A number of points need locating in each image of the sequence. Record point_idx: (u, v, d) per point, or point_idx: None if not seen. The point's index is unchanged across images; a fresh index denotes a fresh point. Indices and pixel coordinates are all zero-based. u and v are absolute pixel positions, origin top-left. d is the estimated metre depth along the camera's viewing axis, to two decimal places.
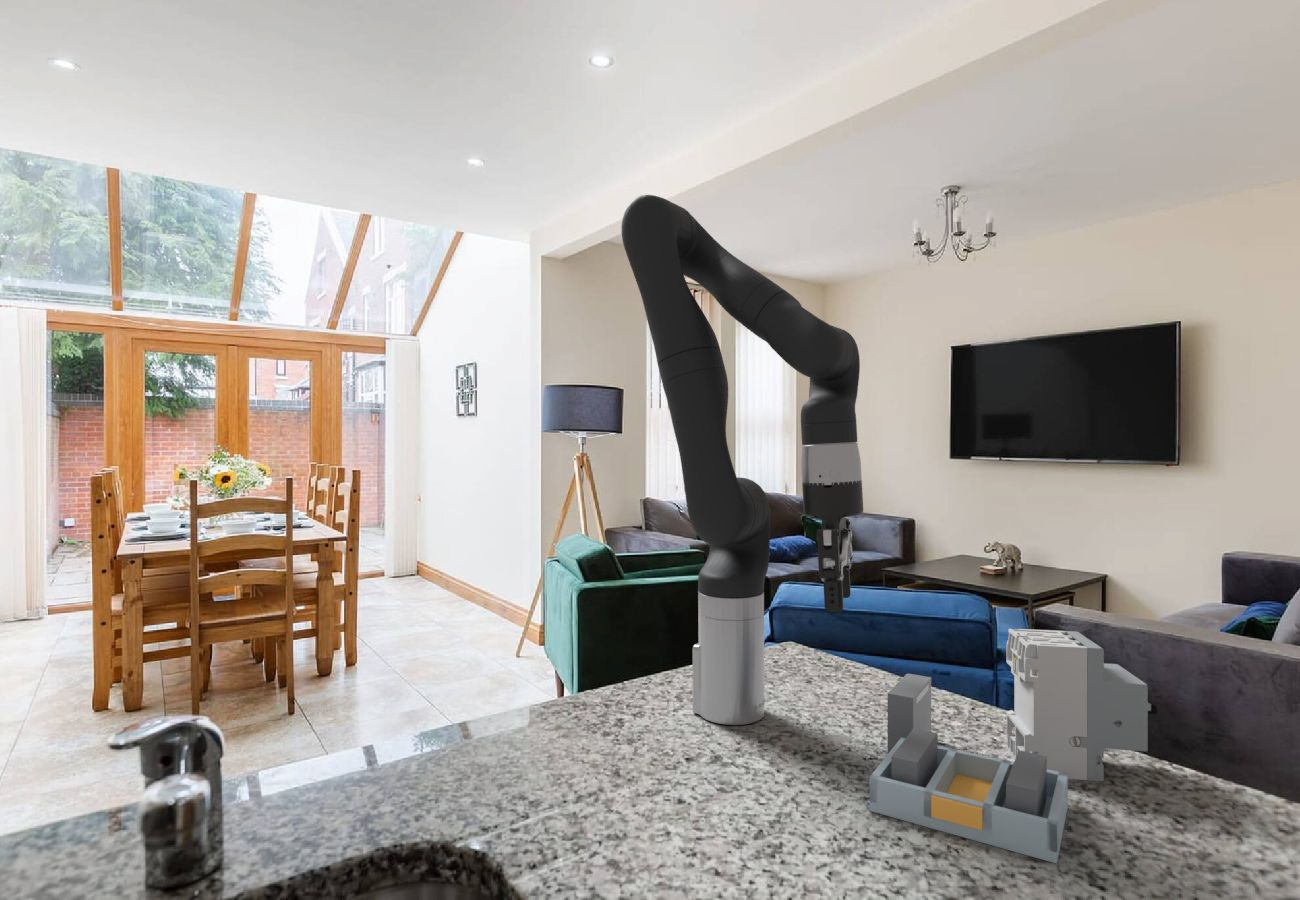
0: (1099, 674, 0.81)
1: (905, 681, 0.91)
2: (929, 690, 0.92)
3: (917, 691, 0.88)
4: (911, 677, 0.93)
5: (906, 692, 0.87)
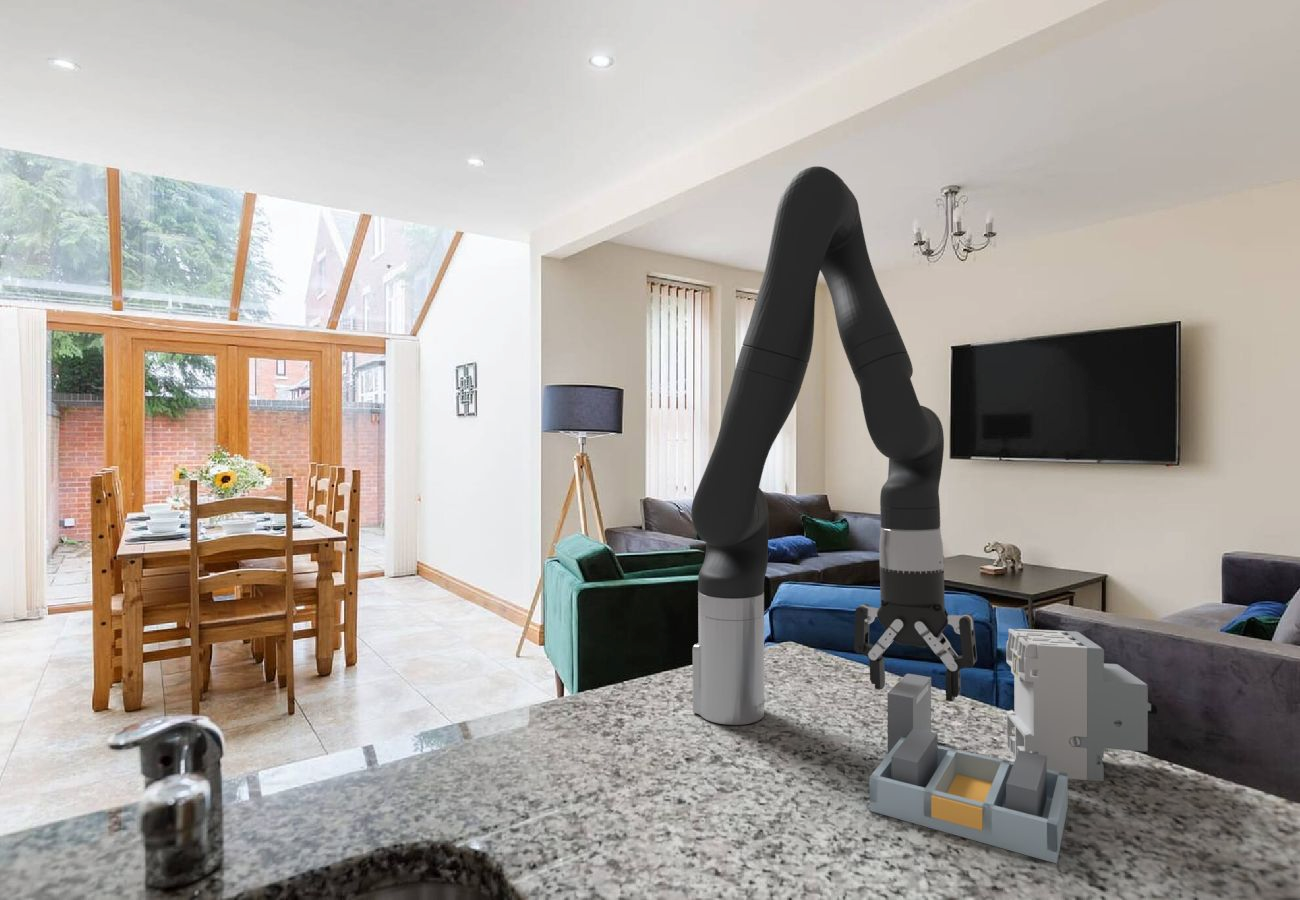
0: (1099, 674, 0.81)
1: (905, 681, 0.91)
2: (929, 690, 0.92)
3: (917, 691, 0.88)
4: (911, 677, 0.93)
5: (906, 692, 0.87)
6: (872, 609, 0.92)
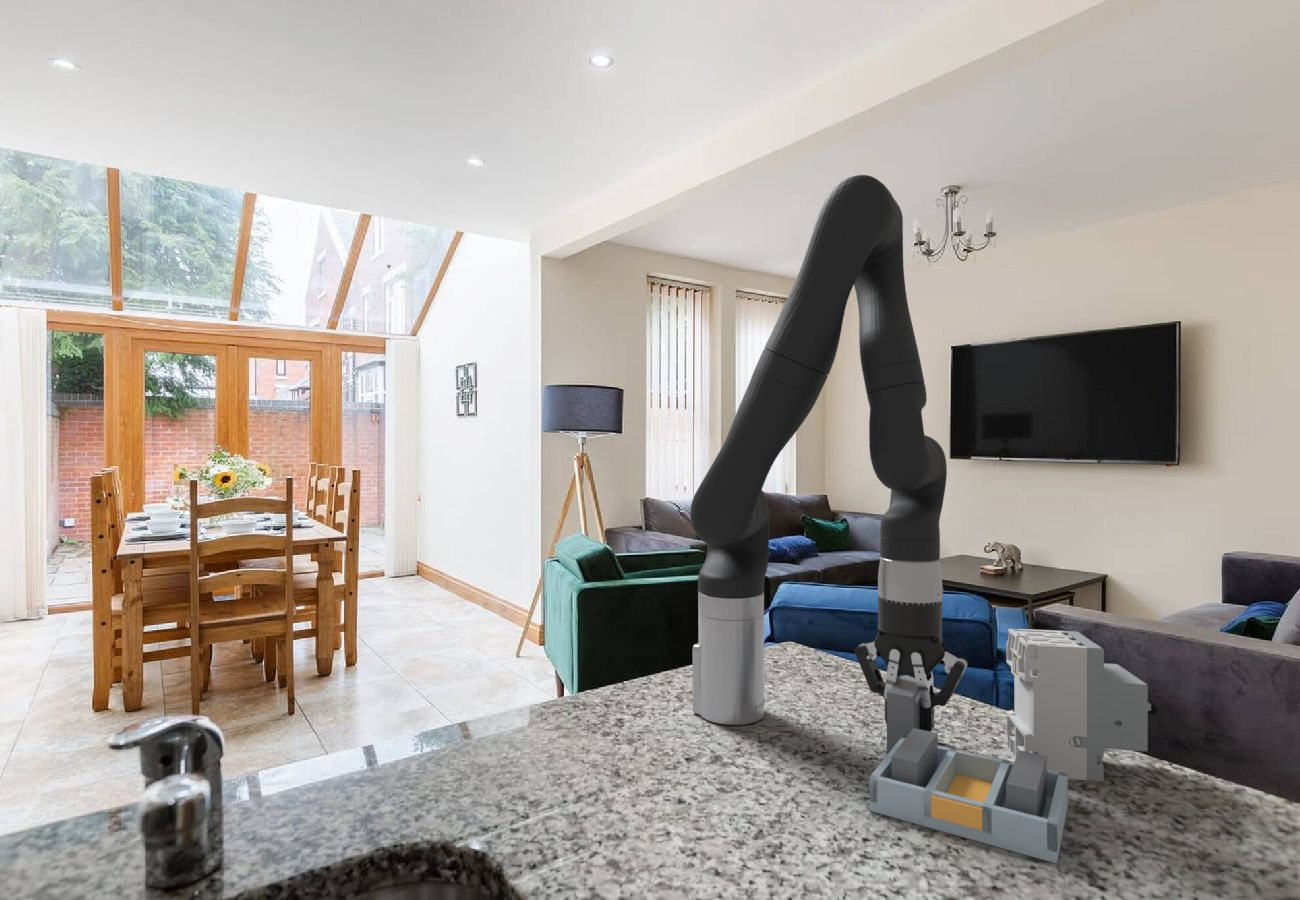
0: (1099, 674, 0.81)
1: (904, 680, 0.91)
2: None
3: (916, 690, 0.88)
4: (910, 676, 0.93)
5: (905, 691, 0.87)
6: (869, 644, 0.92)
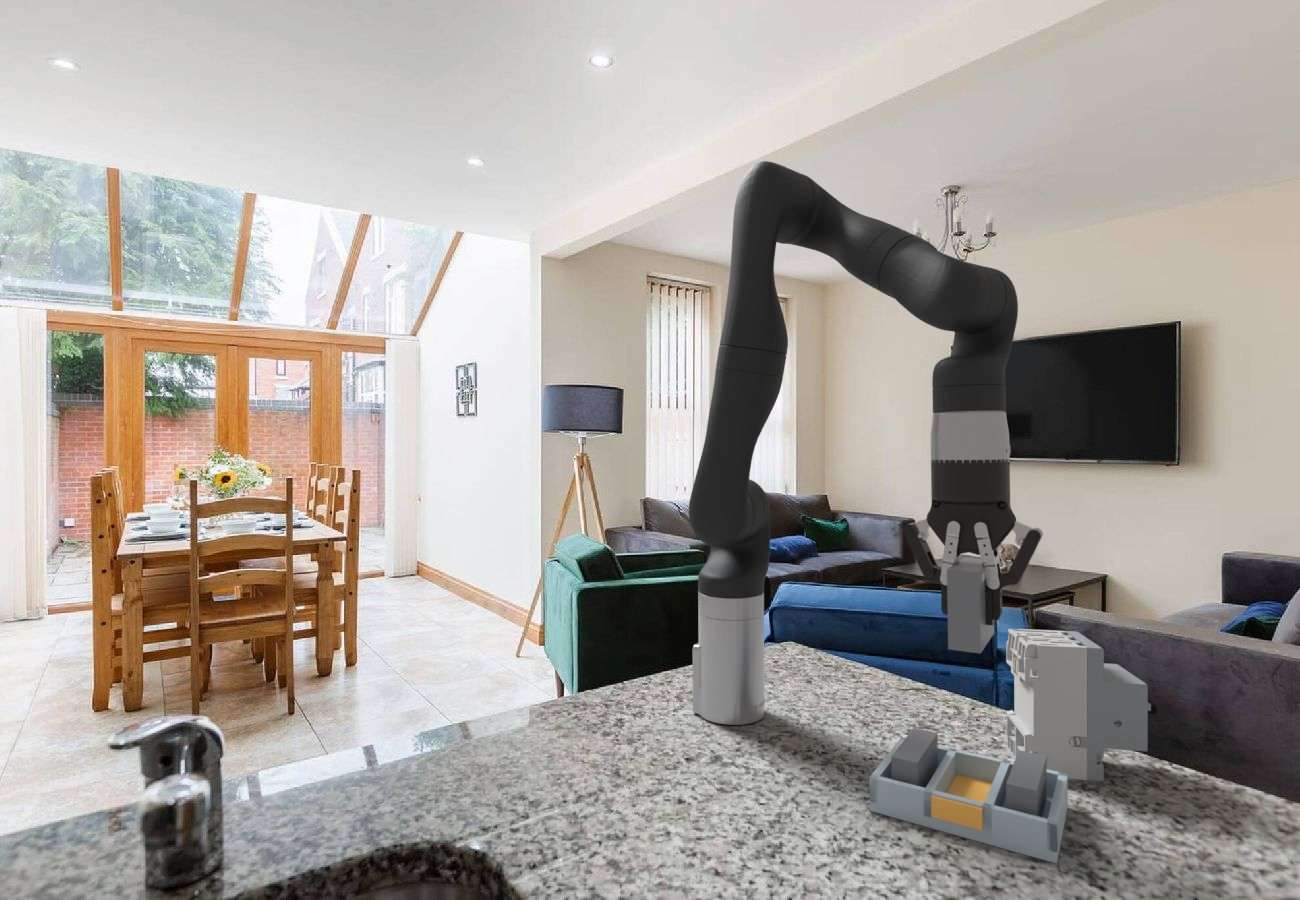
0: (1099, 674, 0.81)
1: (964, 562, 0.77)
2: None
3: (982, 568, 0.73)
4: (970, 559, 0.78)
5: (969, 568, 0.73)
6: (920, 521, 0.78)
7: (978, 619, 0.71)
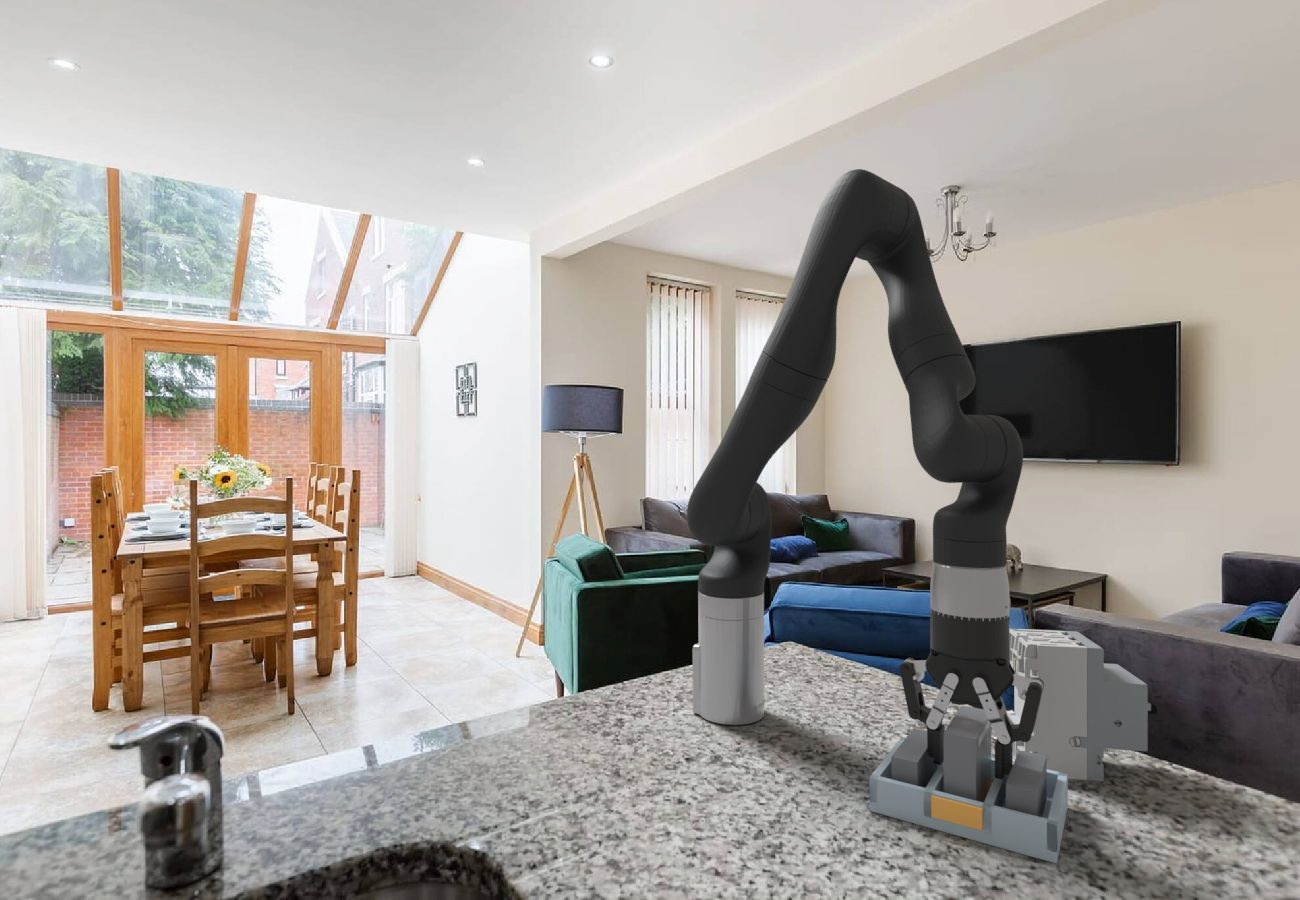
0: (1099, 674, 0.81)
1: (961, 716, 0.77)
2: (989, 726, 0.77)
3: (979, 730, 0.73)
4: (968, 710, 0.78)
5: (966, 731, 0.73)
6: (919, 663, 0.77)
7: (974, 786, 0.71)
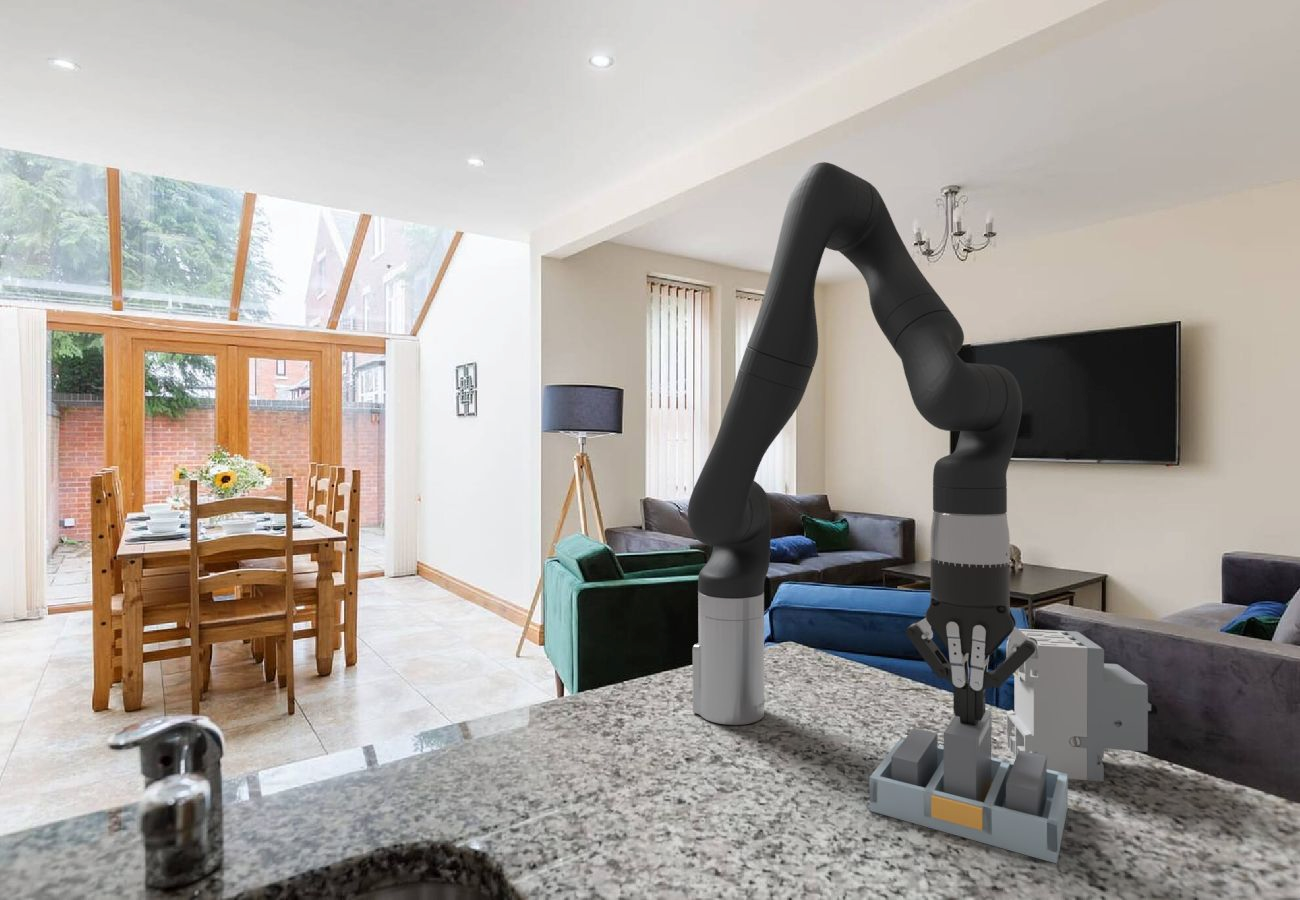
0: (1099, 674, 0.81)
1: None
2: (989, 726, 0.77)
3: (979, 730, 0.73)
4: None
5: (966, 731, 0.73)
6: (921, 621, 0.77)
7: (974, 786, 0.71)
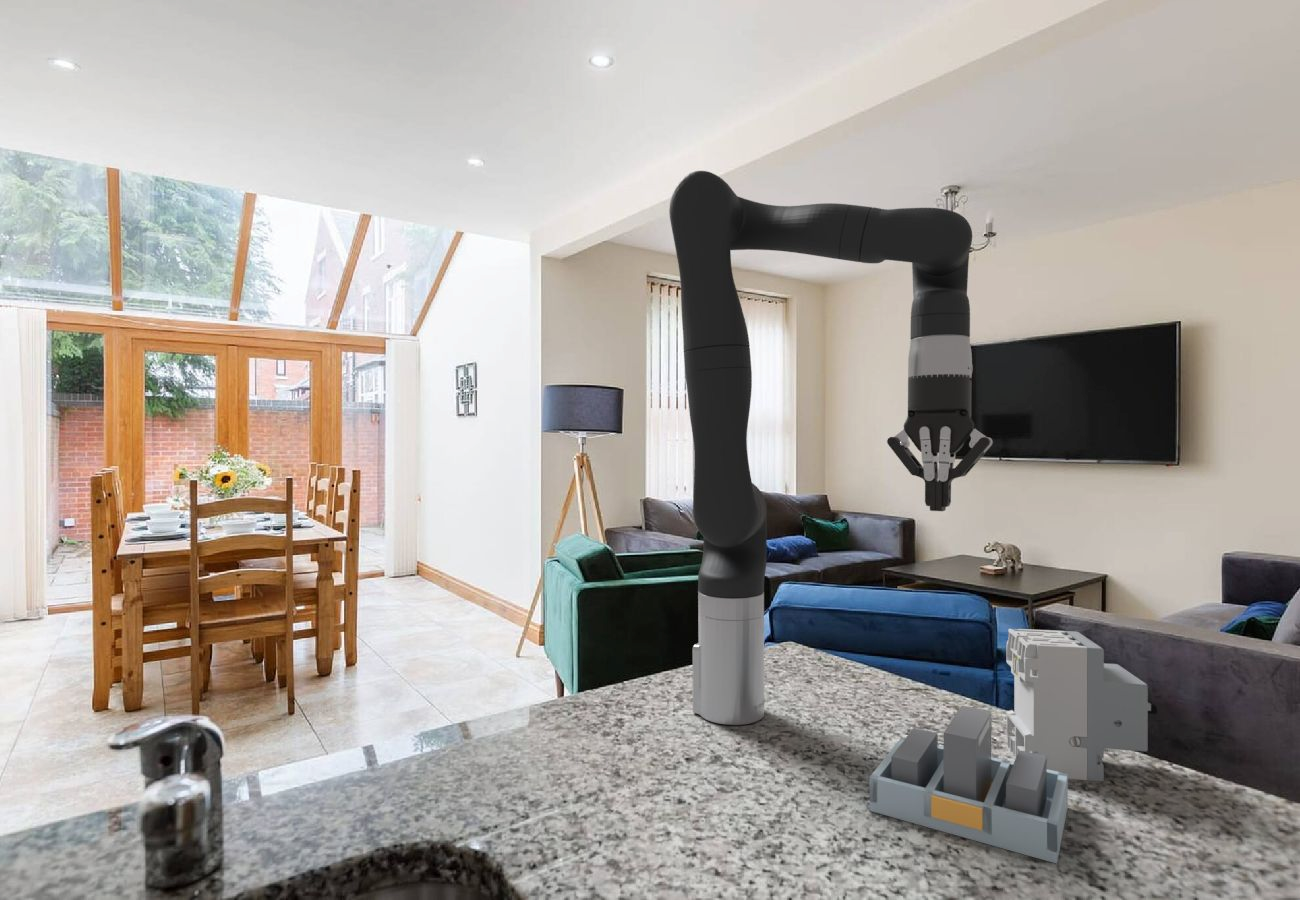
0: (1099, 674, 0.81)
1: (961, 716, 0.77)
2: (989, 726, 0.77)
3: (979, 730, 0.73)
4: (968, 710, 0.78)
5: (966, 731, 0.73)
6: (900, 433, 0.94)
7: (974, 786, 0.71)
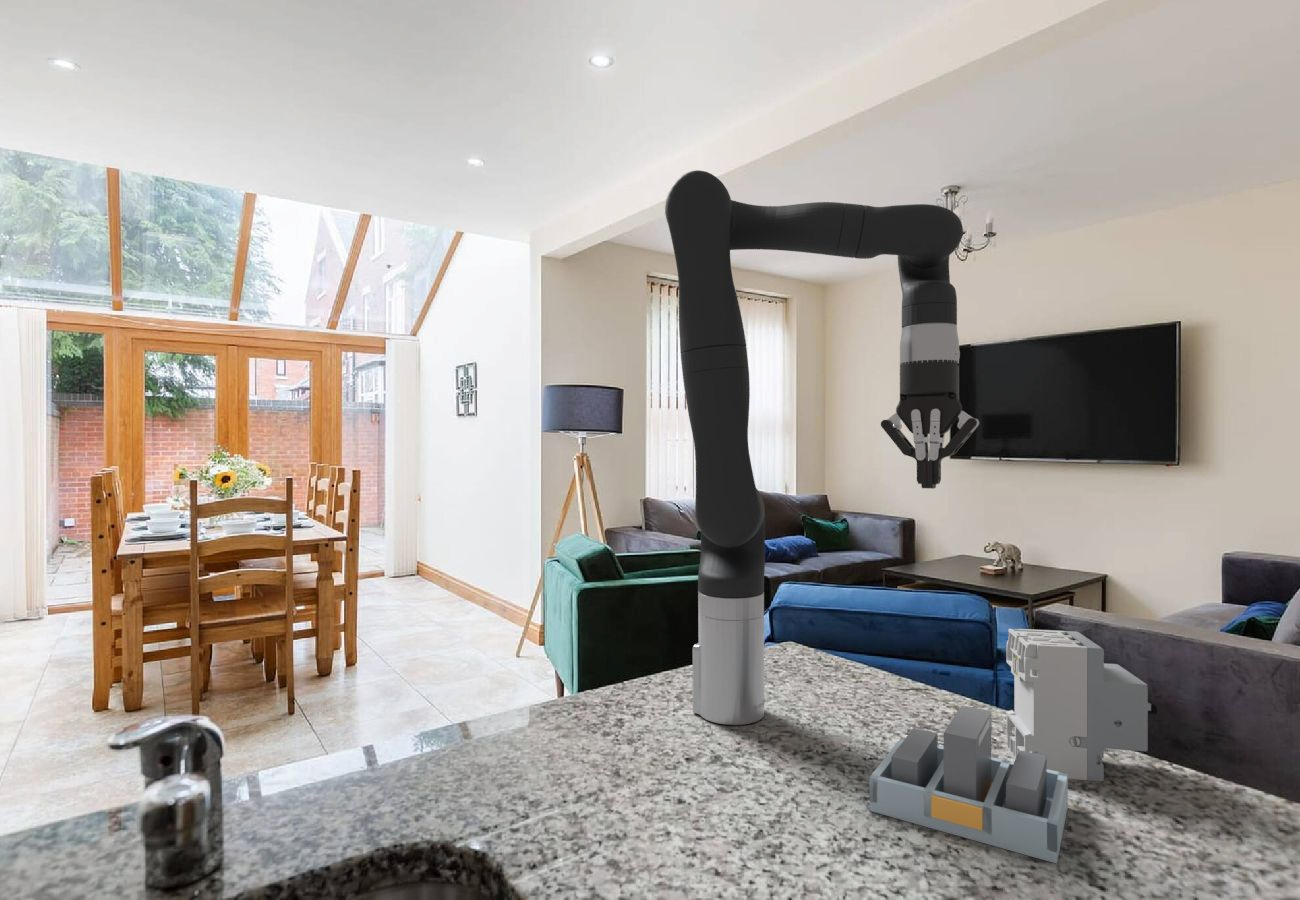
0: (1099, 674, 0.81)
1: (961, 716, 0.77)
2: (989, 726, 0.77)
3: (979, 730, 0.73)
4: (968, 710, 0.78)
5: (966, 731, 0.73)
6: (892, 416, 1.00)
7: (974, 786, 0.71)
